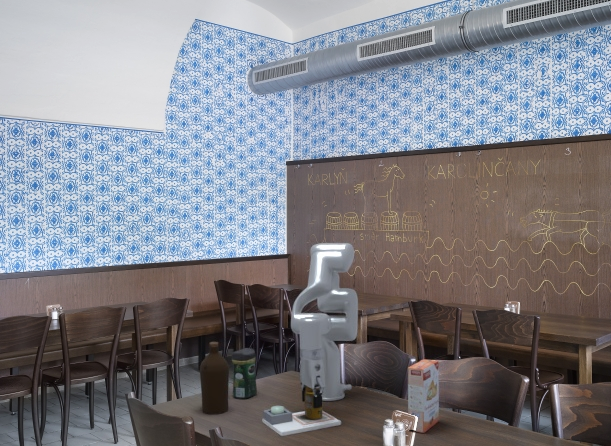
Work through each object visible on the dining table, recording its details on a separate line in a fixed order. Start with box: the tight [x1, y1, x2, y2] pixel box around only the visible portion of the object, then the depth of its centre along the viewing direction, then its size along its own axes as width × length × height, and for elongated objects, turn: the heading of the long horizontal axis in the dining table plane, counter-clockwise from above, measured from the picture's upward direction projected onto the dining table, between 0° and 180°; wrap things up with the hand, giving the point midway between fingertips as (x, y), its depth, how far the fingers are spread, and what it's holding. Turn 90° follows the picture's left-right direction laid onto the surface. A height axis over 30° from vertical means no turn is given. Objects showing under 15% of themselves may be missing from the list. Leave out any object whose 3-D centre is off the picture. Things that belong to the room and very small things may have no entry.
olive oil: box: [199, 341, 230, 415], centre depth 230 cm, size 11×11×25 cm
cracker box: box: [407, 358, 440, 434], centre depth 208 cm, size 14×6×21 cm, turn 148°
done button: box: [270, 405, 285, 415], centre depth 214 cm, size 4×4×3 cm
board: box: [262, 407, 342, 437], centre depth 213 cm, size 22×16×4 cm
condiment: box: [295, 385, 327, 423], centre depth 215 cm, size 7×8×12 cm
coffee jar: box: [231, 347, 258, 399], centre depth 248 cm, size 10×8×19 cm
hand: (312, 404), depth 215 cm, fingers open, 7 cm apart
